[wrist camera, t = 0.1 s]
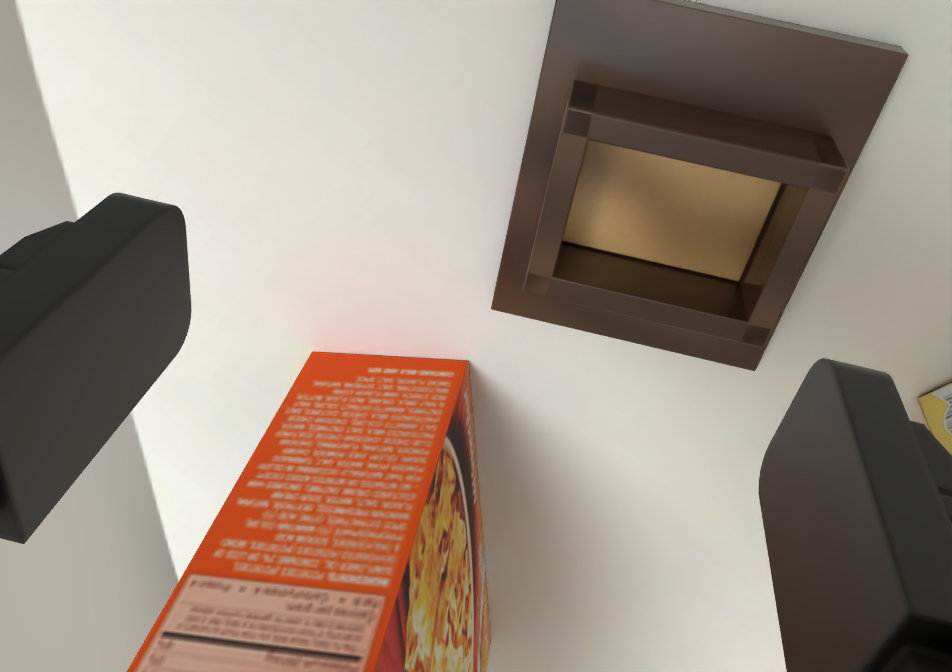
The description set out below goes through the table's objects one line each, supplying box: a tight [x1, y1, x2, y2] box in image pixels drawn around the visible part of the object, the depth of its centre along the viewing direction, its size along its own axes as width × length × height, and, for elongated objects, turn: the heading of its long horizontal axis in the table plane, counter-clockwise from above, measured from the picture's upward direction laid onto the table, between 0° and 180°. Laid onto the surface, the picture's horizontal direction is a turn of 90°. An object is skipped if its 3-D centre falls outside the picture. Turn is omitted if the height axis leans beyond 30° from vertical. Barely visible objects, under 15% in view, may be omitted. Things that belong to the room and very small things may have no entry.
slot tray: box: [491, 0, 908, 371], centre depth 30 cm, size 14×12×4 cm
